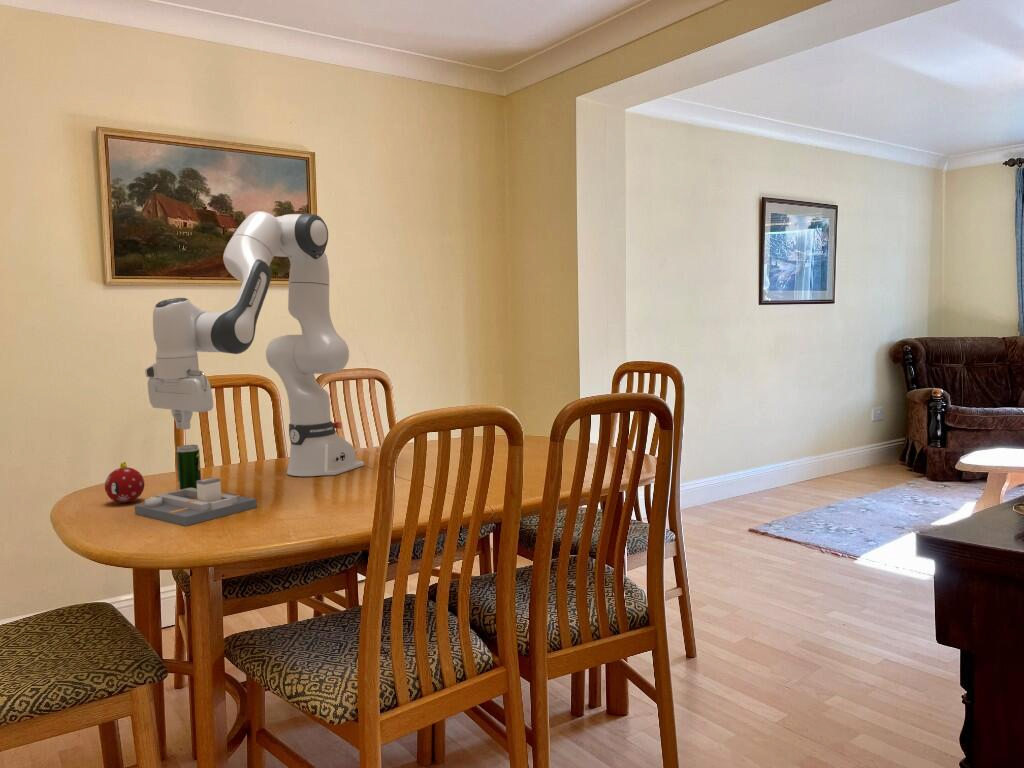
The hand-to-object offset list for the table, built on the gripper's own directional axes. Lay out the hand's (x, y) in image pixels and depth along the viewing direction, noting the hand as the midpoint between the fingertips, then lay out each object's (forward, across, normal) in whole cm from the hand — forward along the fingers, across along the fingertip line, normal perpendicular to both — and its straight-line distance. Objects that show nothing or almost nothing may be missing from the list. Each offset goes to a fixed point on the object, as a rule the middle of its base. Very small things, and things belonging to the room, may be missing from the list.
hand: (183, 428), depth 176 cm
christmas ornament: (+19, +19, +5) cm, 27 cm away
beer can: (+19, +14, -9) cm, 26 cm away
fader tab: (+17, -9, +1) cm, 19 cm away
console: (+19, -4, +1) cm, 19 cm away
